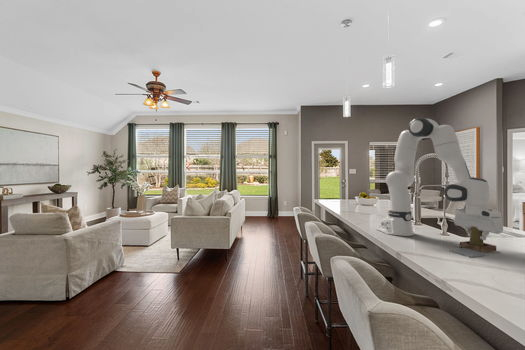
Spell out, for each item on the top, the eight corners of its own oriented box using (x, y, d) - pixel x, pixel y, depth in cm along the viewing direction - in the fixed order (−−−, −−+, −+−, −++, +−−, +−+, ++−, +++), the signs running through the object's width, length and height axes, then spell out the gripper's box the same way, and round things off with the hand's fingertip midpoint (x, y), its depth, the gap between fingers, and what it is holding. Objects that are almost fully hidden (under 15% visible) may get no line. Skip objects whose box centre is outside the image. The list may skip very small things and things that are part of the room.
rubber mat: (449, 250, 124) (449, 249, 124) (464, 248, 126) (464, 247, 126) (471, 257, 114) (471, 256, 114) (487, 255, 117) (487, 253, 117)
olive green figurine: (471, 245, 131) (471, 223, 130) (486, 248, 126) (486, 226, 125) (466, 247, 127) (466, 225, 127) (481, 250, 122) (482, 227, 122)
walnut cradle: (459, 247, 130) (459, 242, 130) (473, 245, 132) (473, 240, 132) (481, 253, 120) (481, 247, 120) (496, 250, 123) (496, 245, 123)
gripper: (451, 207, 135) (451, 233, 135) (496, 214, 115) (495, 244, 116) (460, 207, 137) (459, 232, 137) (505, 213, 117) (505, 243, 118)
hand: (476, 238), depth 126 cm, fingers closed on olive green figurine, 4 cm apart
